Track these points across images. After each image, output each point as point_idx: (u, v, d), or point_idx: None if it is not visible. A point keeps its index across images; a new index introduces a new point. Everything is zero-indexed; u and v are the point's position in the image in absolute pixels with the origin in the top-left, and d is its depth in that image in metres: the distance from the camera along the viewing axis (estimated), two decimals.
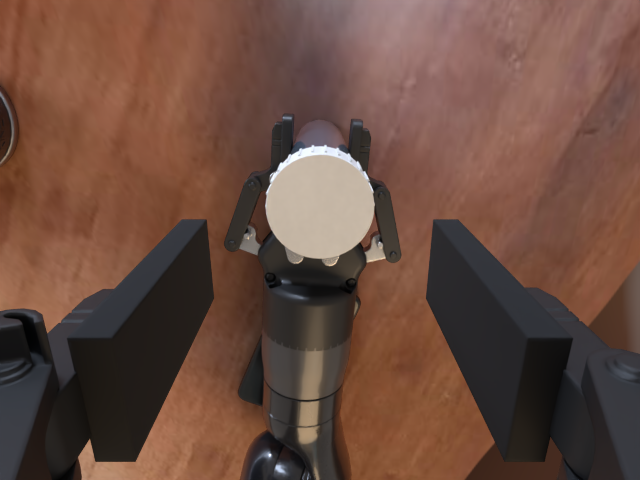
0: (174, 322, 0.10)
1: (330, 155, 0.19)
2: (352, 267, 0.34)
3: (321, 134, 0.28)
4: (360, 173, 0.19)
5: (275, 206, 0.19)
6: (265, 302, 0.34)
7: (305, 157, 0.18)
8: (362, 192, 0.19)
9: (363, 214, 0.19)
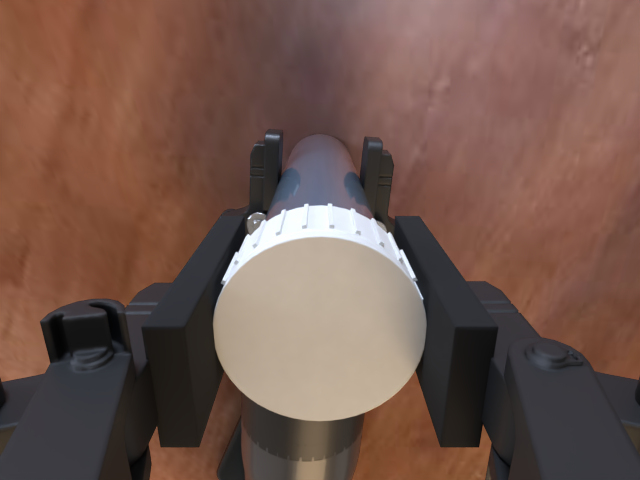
0: None
1: (341, 237, 0.09)
2: None
3: (322, 164, 0.18)
4: (401, 272, 0.09)
5: (231, 332, 0.10)
6: None
7: (289, 241, 0.09)
8: (404, 307, 0.10)
9: (405, 346, 0.10)
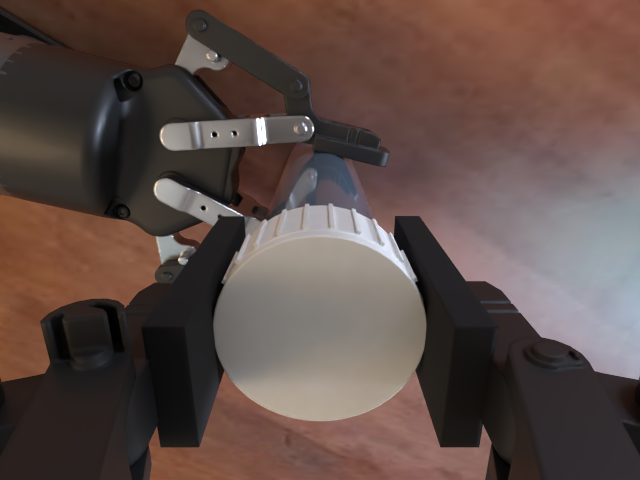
0: None
1: (342, 237, 0.09)
2: (148, 217, 0.22)
3: None
4: (402, 272, 0.09)
5: (231, 331, 0.10)
6: (84, 64, 0.19)
7: (290, 241, 0.09)
8: (404, 307, 0.10)
9: (405, 346, 0.10)
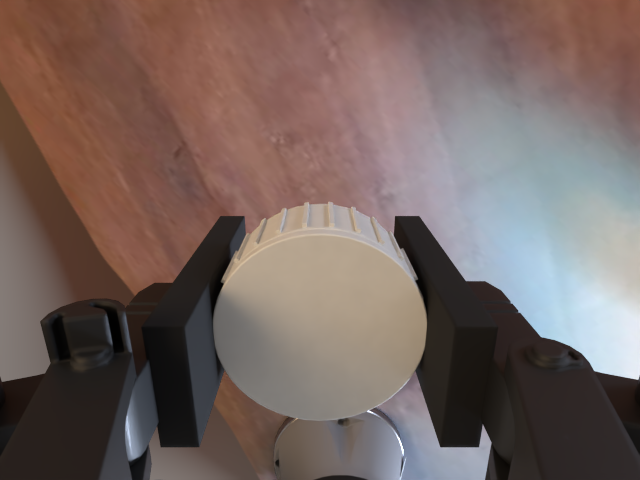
0: None
1: (341, 235, 0.09)
2: None
3: None
4: (402, 271, 0.09)
5: (231, 331, 0.10)
6: None
7: (290, 240, 0.09)
8: (405, 305, 0.09)
9: (405, 345, 0.10)
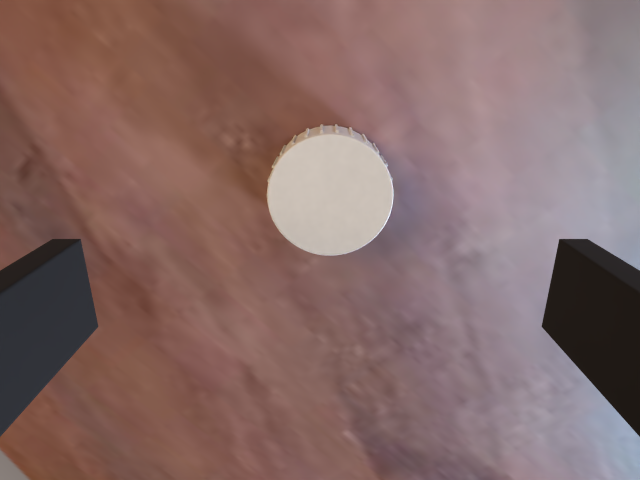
0: (0, 368, 0.09)
1: (342, 135, 0.16)
2: None
3: None
4: (377, 157, 0.16)
5: (278, 195, 0.17)
6: None
7: (313, 138, 0.16)
8: (379, 179, 0.16)
9: (380, 204, 0.17)
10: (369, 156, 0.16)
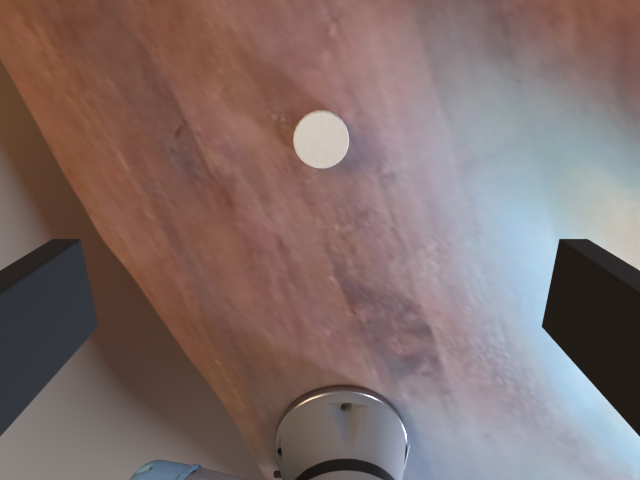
0: None
1: (326, 112, 0.37)
2: None
3: None
4: (341, 122, 0.37)
5: (298, 139, 0.38)
6: None
7: (313, 113, 0.37)
8: (342, 132, 0.38)
9: (343, 143, 0.38)
10: (337, 121, 0.37)
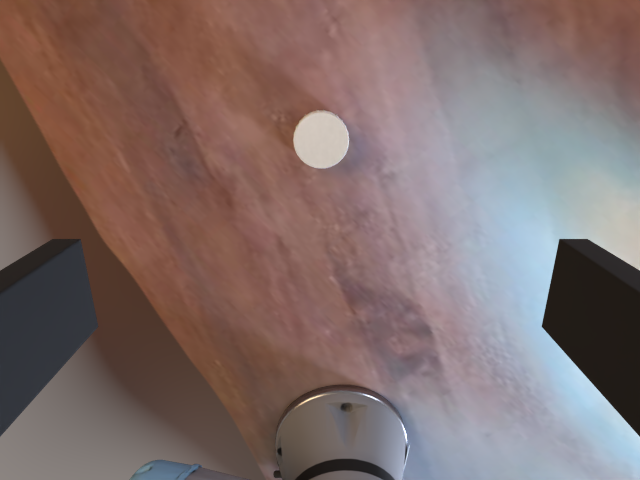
0: None
1: (326, 113, 0.37)
2: None
3: None
4: (341, 122, 0.37)
5: (298, 139, 0.38)
6: None
7: (313, 114, 0.37)
8: (342, 132, 0.38)
9: (343, 143, 0.38)
10: (337, 122, 0.37)
